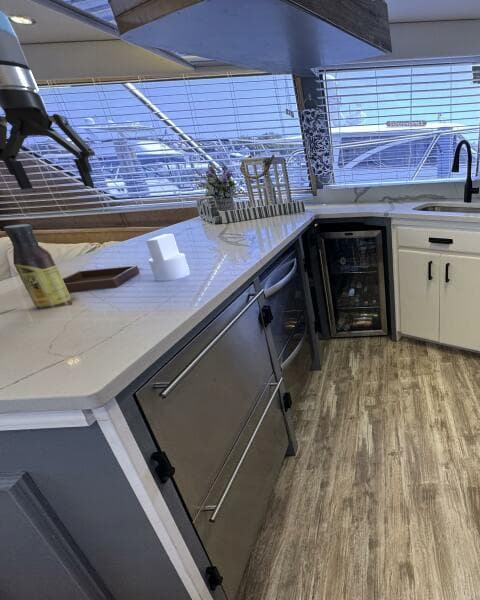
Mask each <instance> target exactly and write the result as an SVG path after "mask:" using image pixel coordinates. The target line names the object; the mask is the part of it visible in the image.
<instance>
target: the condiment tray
mask: <svg viewBox="0 0 480 600" xmlns="http://www.w3.org/2000/svg"><path fill="white" fill-rule="evenodd" d="M140 273H141V272H140V269H139V267H138V265H130V266H129V265H128V266H118V267H117V266H116V267H108V268H107V267H106V268H98V269H97V268H96V269H86V270H78V271H76V272H74V273H72V274H70V275H68V276H64V277H62V279H63V281H64V283H65V286H66V288H67V290H68V292H69V294H70V293H79V292H87V291H88V292H89V291H97V290H105V289H113V288H114V289H115V288H118V287H120V286H122V285H123V284H125V283H126V282H128V281H130V280H131V279H133V278H134V277H136V276H137V275H140Z"/></svg>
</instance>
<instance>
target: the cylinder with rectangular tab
mask: <svg viewBox="0 0 480 600" xmlns="http://www.w3.org/2000/svg"><path fill="white" fill-rule="evenodd" d="M145 243H146V245H147V249H148V251H149V254H150V257H149V259H148V263H149V266H150V268H151V271H152V274H153V277H154V280H155V281H158V282H169V281H175V280H179V279H183V278H186V277H188V276H190V274H191V270H190V267H189V265H188V261H187V258H186V255H185V253H183V252H180V250H179V248H178V244H177V242H176V238H175V235H174V233H164V234H163V233H162V234H160V235H158V236H153V237H152V238H149V239H146V240H145Z"/></svg>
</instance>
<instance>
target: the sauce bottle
mask: <svg viewBox="0 0 480 600" xmlns="http://www.w3.org/2000/svg"><path fill="white" fill-rule="evenodd" d="M3 229H4V230H3V231H4V233H5V234H6V235H7V236H8V238H9V240H10V242H11V244H12V255H13V256H12V257H13V265H14V267H15V269H16V271H17V272H16V273H18V275H19V277H20V280H21V281H22V284H23V286H24V287H25V289H26V291H27V293H28V295H29V297H30V299H31V301H32V303H33V305H34V306H35V307H36V308H37V309H38V310H42V309H50V308H51V309H52V308H59V307H68V306H72V305H73V300H72V297H71V294H70V293H69V292H68V290H67V288H66V286H65V283H64V281H63V277H62V275H61V273H60V270H59V268H58V266H57V264H56V263H55V260H54V259H53V256H52V254H51V252H49V251H48V250H47V249H45V248H44V247H42V246H41V245H39V241H38V240H37V238H36V236H35V234H34V229H33V227H32V225H31V224H27V223H21V224H13V225H6V226H3Z"/></svg>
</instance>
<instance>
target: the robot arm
mask: <svg viewBox="0 0 480 600" xmlns="http://www.w3.org/2000/svg"><path fill="white" fill-rule="evenodd" d="M38 92H39V88H38V85H37V83H36V80H35V78H34V75H33V73H32V71H31V69H30V67H29V64H28V61H27V59H26V57H25V53H24V51H23V48H22V46H21V43H20V41H19V37H18V36H17V34H16V32H15V30H14V28H13V26H12V24H11V22H10V19H9V17H8V16H7V14H5V13H4V12H3V11H2V10H0V108H1V109H2V110H3V112H4V116H3V115H0V160H1V161H2V162H3V163H4V165H5V167H6V169H7V171H8V173H9V174H10V175H11V176H13V177H14V178H15V180H16V182H17V183H18V186H19V188H20V190H32V189H34V188H33V186H32V183H31V181H30V178H29V177H28V175H27V172H26V170H25V168H24V166H23V164H22V162H21V160H18V159H17V158H18V155H19V153H20V150H21V149H22V146H23V145H24V141H25V140H26V139H27V138H28V137H38V136H40V137H47V138H48V137H49V138H50V139H51V140H53V141H54V142H55V143H57V144H58V145H59V146H61V147H63V149H65V150H67V151H68V153H70V154H72V155H73V156H75V158H73V161H74V163H75V166H76V168H77V171H78V173H79V176H80V178H81V181H82V184H83V186H84V187H94V186H95V183H94V181H93V178H92V175H91V173H92V172H93V169H92V167H91V163H90V161H89V158H90V157H93V156H96V152H95V151H94V150H93V149H92V147H90V146H89V144H88V143H86V141H84V139H83V138H82V137H81V136H80V135H79V134H78V133H77V132H76V130H74V128H73V127H72V126H71V125H70V123H69V121H68V120H67V117H66V116H64V115H63V114H58V113H53V114H52V115H50V114H48V111H47V110H48V109H47V106H46V104H45V101H44V100H43V97H42V95H41V94H39V93H38ZM53 124H54V125H56V126H57V127H58V128H59V129H60V130H61V131H62V132H63V133H64V134H65V136H66V137H67V138H69V139H70V141H71V142H70V141H69V140H68V139H67V138H66V137H64V136H63V135H61V133H60V132H58V130H56V129H54V128H53V127H52V126H53ZM8 125H10V126H11V128H10V131H9V136H8ZM7 136H8V140H7Z"/></svg>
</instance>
